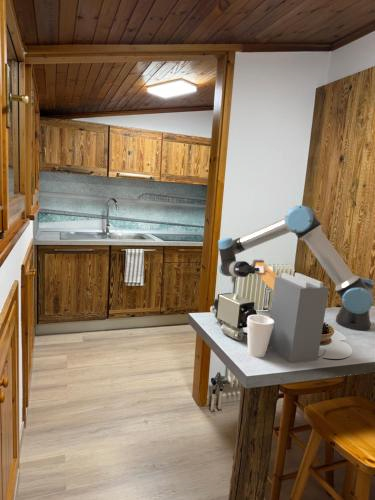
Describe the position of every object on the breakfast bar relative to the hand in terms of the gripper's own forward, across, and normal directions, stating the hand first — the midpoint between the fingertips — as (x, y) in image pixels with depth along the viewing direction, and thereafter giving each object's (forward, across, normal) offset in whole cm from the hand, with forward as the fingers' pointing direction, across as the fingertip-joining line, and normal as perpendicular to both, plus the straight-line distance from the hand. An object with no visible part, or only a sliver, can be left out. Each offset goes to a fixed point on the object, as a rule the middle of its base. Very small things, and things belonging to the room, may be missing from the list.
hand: (269, 269), depth 147 cm
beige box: (-16, +16, -24) cm, 32 cm away
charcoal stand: (+15, +2, -31) cm, 34 cm away
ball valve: (-1, +17, -27) cm, 32 cm away
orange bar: (0, 0, -5) cm, 5 cm away
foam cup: (+14, +16, -30) cm, 37 cm away
